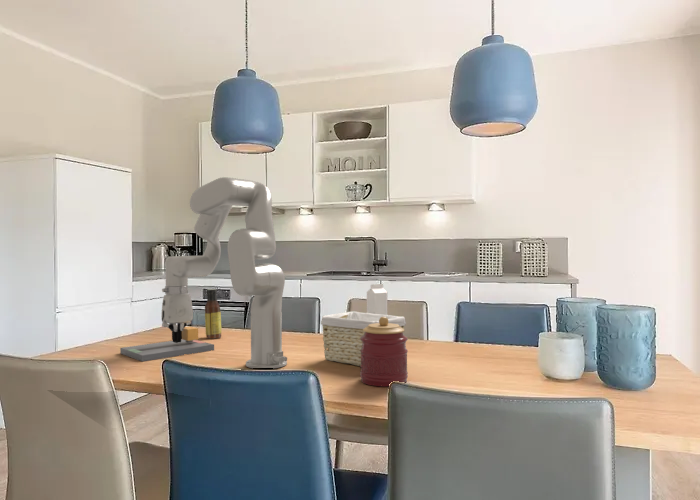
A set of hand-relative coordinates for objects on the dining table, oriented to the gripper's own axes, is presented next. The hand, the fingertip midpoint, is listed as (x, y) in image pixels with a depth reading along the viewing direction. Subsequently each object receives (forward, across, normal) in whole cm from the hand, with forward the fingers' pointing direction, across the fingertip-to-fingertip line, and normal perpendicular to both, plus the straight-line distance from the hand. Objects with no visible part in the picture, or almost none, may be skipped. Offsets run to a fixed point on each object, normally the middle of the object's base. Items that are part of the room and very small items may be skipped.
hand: (176, 342), depth 185 cm
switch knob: (+1, +5, 0) cm, 5 cm away
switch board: (+3, -3, 0) cm, 4 cm away
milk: (+3, +65, -39) cm, 75 cm away
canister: (+3, +18, -81) cm, 83 cm away
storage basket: (+3, +32, -60) cm, 68 cm away
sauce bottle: (+3, +23, +14) cm, 27 cm away
